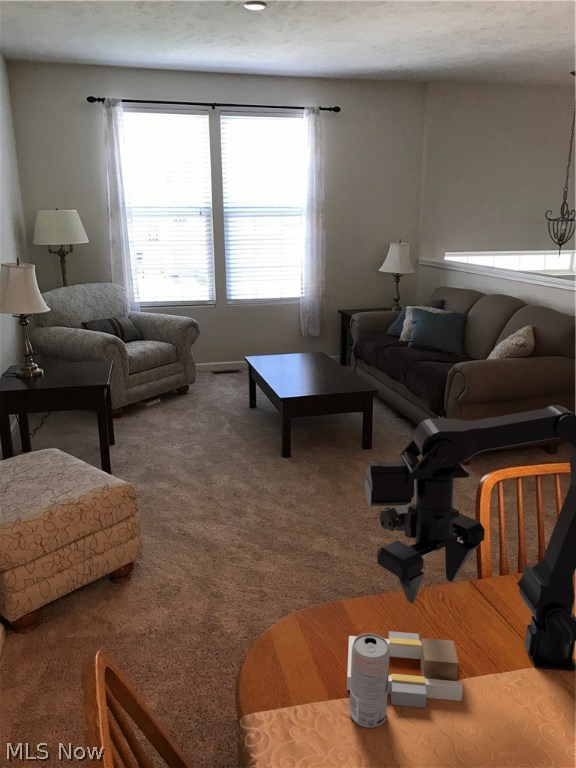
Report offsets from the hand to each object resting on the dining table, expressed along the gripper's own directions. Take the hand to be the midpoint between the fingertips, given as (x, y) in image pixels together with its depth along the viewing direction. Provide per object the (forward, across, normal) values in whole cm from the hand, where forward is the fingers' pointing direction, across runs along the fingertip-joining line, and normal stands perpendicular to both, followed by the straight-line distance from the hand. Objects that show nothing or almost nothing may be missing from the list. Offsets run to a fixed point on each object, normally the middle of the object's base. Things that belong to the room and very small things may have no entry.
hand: (430, 591), depth 94 cm
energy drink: (+13, +16, +3) cm, 21 cm away
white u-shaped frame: (+13, +6, 0) cm, 14 cm away
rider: (+13, +2, +4) cm, 14 cm away
